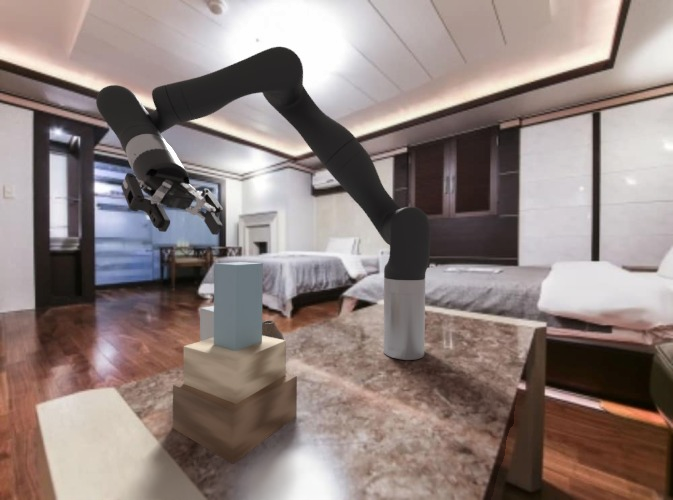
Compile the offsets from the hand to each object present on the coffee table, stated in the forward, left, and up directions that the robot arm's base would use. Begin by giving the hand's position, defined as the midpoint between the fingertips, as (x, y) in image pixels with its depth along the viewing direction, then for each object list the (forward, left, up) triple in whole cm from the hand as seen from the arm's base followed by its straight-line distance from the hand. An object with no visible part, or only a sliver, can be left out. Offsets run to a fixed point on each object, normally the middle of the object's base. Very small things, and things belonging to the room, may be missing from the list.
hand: (193, 229), depth 46 cm
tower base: (0, +10, -27) cm, 29 cm away
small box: (-9, -3, -27) cm, 28 cm away
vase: (-17, -1, -27) cm, 32 cm away
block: (0, +10, -16) cm, 19 cm away
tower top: (0, +10, -21) cm, 23 cm away
